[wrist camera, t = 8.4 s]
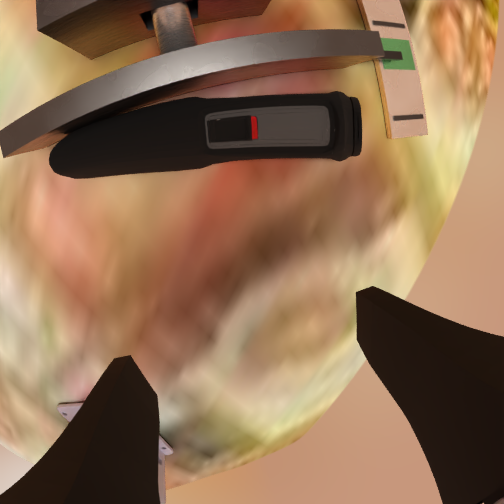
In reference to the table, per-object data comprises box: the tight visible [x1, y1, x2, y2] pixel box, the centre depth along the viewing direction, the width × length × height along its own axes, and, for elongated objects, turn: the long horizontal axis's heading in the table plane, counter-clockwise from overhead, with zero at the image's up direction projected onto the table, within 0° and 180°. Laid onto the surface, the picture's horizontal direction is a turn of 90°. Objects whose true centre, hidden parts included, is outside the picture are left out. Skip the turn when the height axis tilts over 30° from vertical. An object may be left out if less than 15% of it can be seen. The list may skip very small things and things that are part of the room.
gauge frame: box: [36, 0, 428, 139], centre depth 9 cm, size 15×18×6 cm
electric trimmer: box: [49, 91, 362, 179], centre depth 13 cm, size 4×16×3 cm, turn 93°
